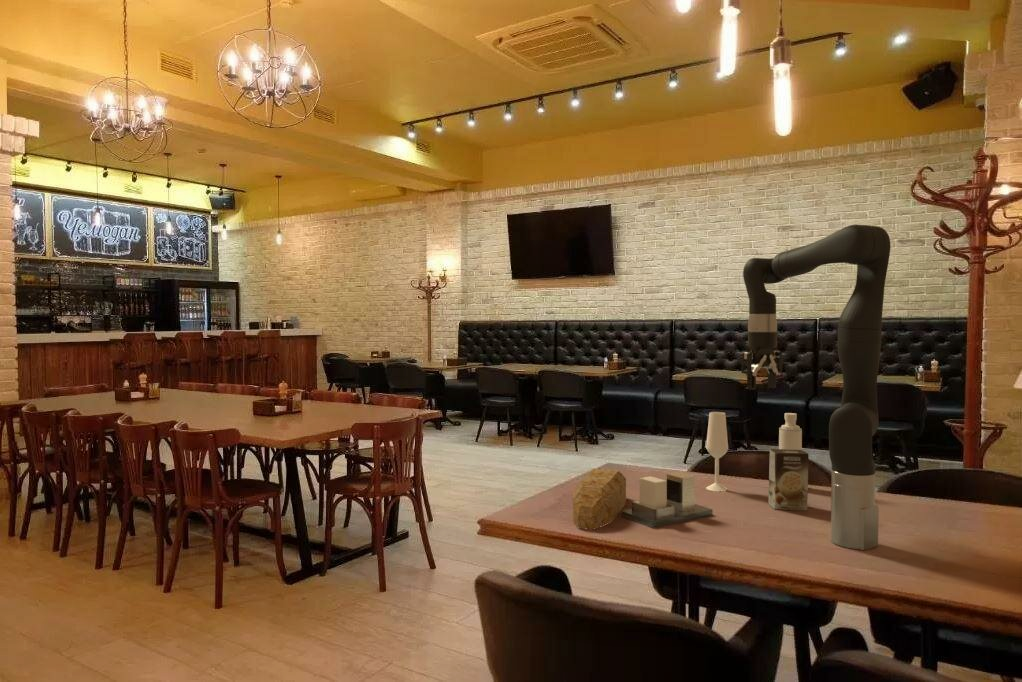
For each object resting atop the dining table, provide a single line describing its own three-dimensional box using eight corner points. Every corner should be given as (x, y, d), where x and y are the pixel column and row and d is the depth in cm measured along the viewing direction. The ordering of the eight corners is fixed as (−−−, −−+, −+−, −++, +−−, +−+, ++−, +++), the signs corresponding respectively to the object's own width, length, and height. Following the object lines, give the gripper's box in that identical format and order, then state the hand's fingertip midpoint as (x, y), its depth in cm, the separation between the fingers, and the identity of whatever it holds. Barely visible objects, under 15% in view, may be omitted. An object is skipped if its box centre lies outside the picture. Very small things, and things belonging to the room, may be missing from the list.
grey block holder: (712, 514, 185) (712, 476, 185) (652, 527, 173) (652, 487, 173) (680, 504, 195) (680, 468, 195) (621, 516, 184) (621, 478, 183)
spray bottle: (806, 488, 213) (806, 409, 212) (787, 490, 211) (788, 410, 210) (791, 483, 219) (792, 407, 218) (774, 485, 217) (774, 407, 216)
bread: (595, 493, 208) (595, 461, 208) (630, 497, 205) (630, 464, 204) (563, 527, 175) (563, 489, 174) (605, 532, 171) (605, 493, 171)
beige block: (655, 516, 178) (655, 482, 178) (639, 511, 183) (639, 478, 183) (667, 514, 180) (668, 480, 180) (652, 508, 185) (652, 476, 185)
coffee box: (774, 509, 189) (774, 452, 189) (768, 503, 196) (768, 448, 195) (808, 510, 189) (808, 453, 188) (800, 504, 195) (801, 449, 194)
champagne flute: (701, 487, 215) (701, 412, 214) (719, 485, 217) (720, 411, 216) (713, 492, 209) (714, 414, 208) (732, 490, 211) (733, 413, 210)
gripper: (756, 330, 181) (756, 391, 181) (790, 330, 188) (790, 388, 189) (734, 330, 187) (733, 389, 188) (767, 330, 194) (767, 386, 195)
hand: (761, 388), depth 188 cm, fingers open, 8 cm apart
